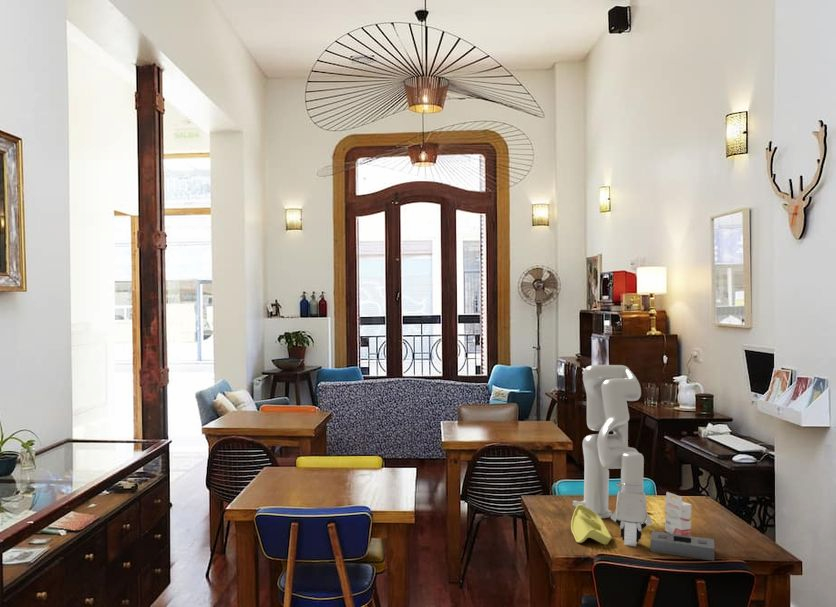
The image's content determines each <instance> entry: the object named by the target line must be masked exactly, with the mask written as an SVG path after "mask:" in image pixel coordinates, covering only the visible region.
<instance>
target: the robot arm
mask: <svg viewBox="0 0 836 607" xmlns="http://www.w3.org/2000/svg"><path fill="white" fill-rule="evenodd" d="M630 369H631V368H629V367H628V366H626V365H624V364H623V365H622V364H592V365H588V366H586V367H585V368H584V371H583V374H582V382H583V385H584V386H583V387H584V391H585V393H586V425H587V428H588V429H589V430H591V431H594V432H595V431H596V432H598V433H595V434H588V435H586V436H585V437H584V438H583V440H582V454H583V460H584V461H583V463H584V464H583V465H584V471H583V475H584V479H583V500H581V501H578V500H572V506H574V507H575V508H576V507H577V505H579V504H581V505H583V506H585V507H587V508H589V509H590V510H592V511H593V512H595V513H596V514H597V515H598V516H599V517H600V518H601V519H609V518H610V519H611V520H612V521H613V522H615V523H616V524H617V525H618V527H619V528H620V538H622V541H624V531H625V521H627V522H635V523H637V536H636V542H637V543H639V541H640V540H642V530H644V529H645V528H646V527H648V526H649V525H652V523H653V520H652V519H651V517H650V515H649V514H648V512H647V511H648V510H647V498H646V497H647V496H646V492H644V469H645V468H644V467H645V466H644V464H645V459H644V458H645V457H644V455H643V453H640V452H639V451H638V450H637V448H635V447H629V445H628V444H629V441H628V440H629V420H630V412H629V408H628V407H629V406H628V402H635V401H636V402H637V401H638V400H639V399H640V398H641V396H642V389H641V388H642V387H641V384H640V382H639V380H638V379H637V377H636V375H635V374H634V373H633V371H631V370H630ZM627 401H628V402H627ZM609 432H613V433H612V434H610V433H609ZM610 469H611V470H612V469H613V470H614V469H620V482H617V483H616V487H617V488H619V489H618V491H617V495H616V505H615V510H614V512H612V510H610V509H609V492H610V491H609V488H610V487H609V486H610V483H609V482H610V480H609V478H610Z"/></svg>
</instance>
